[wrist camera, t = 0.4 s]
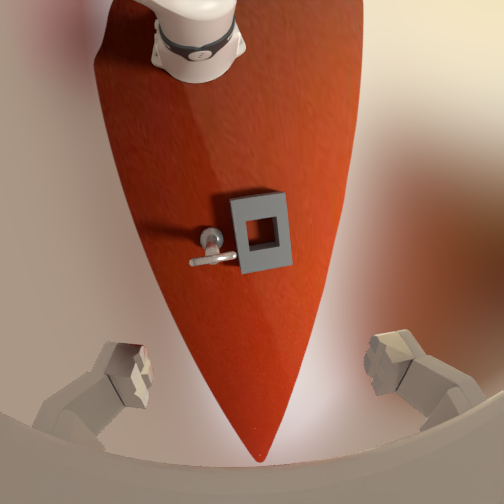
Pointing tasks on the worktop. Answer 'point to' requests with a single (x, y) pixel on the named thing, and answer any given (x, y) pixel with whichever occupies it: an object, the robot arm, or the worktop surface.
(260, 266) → the grey block with hole
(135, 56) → the worktop surface
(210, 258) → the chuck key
